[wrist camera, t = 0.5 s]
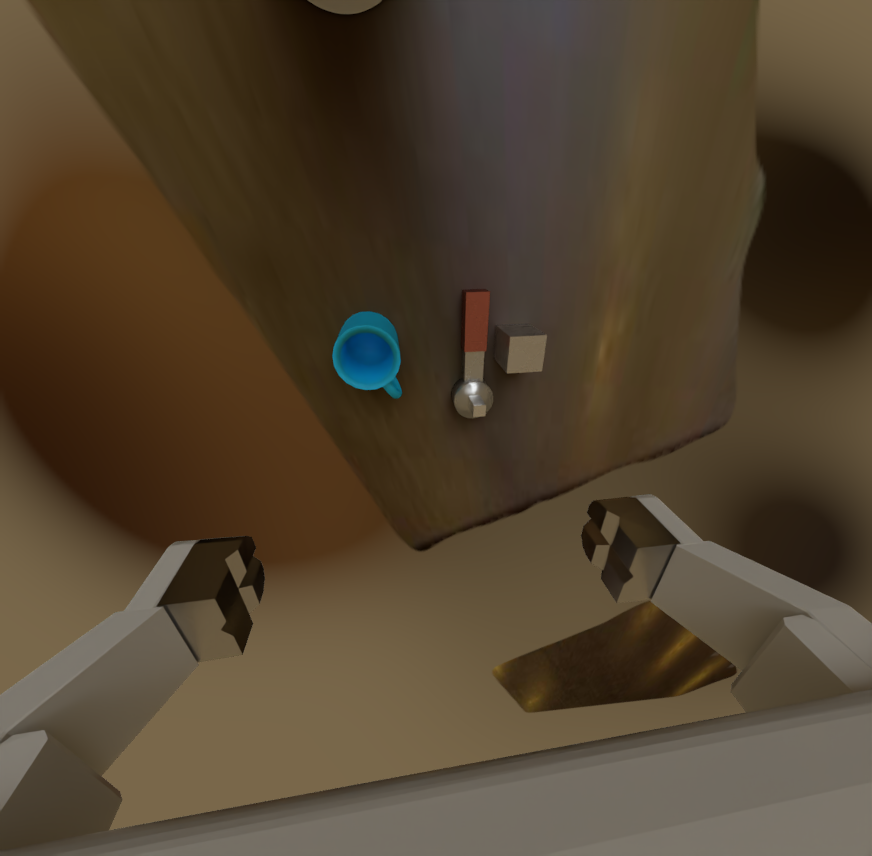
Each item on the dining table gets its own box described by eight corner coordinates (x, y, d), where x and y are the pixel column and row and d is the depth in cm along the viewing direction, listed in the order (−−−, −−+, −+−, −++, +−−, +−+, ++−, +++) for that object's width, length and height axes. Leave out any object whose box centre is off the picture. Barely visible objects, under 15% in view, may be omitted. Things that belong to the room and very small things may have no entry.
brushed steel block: (496, 325, 51) (510, 336, 45) (529, 323, 51) (547, 335, 46) (493, 358, 53) (506, 373, 48) (525, 356, 54) (541, 371, 48)
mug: (327, 330, 48) (317, 347, 41) (377, 299, 47) (376, 311, 40) (375, 398, 54) (375, 423, 47) (421, 371, 53) (427, 393, 46)
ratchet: (452, 290, 48) (461, 297, 42) (494, 288, 48) (509, 296, 43) (450, 411, 57) (458, 430, 51) (486, 408, 57) (498, 427, 52)
